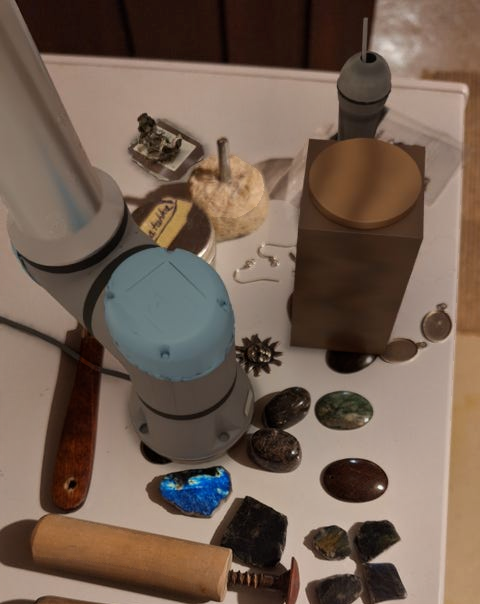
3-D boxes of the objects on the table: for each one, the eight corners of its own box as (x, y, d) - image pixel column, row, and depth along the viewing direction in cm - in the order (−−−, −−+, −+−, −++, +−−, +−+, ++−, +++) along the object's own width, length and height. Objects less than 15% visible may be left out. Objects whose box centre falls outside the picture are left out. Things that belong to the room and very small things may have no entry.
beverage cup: (360, 180, 92) (383, 50, 74) (319, 159, 94) (331, 27, 76) (387, 150, 95) (416, 16, 76) (346, 130, 97) (364, -5, 78)
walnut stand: (289, 346, 81) (297, 228, 61) (298, 270, 86) (308, 138, 66) (383, 355, 80) (423, 238, 60) (387, 278, 85) (425, 146, 65)
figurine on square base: (202, 178, 92) (129, 153, 89) (190, 202, 98) (121, 179, 95) (213, 111, 95) (143, 84, 92) (201, 138, 101) (134, 114, 98)
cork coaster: (303, 224, 62) (304, 217, 61) (313, 142, 66) (313, 134, 65) (418, 233, 61) (420, 226, 60) (420, 149, 65) (422, 141, 64)
